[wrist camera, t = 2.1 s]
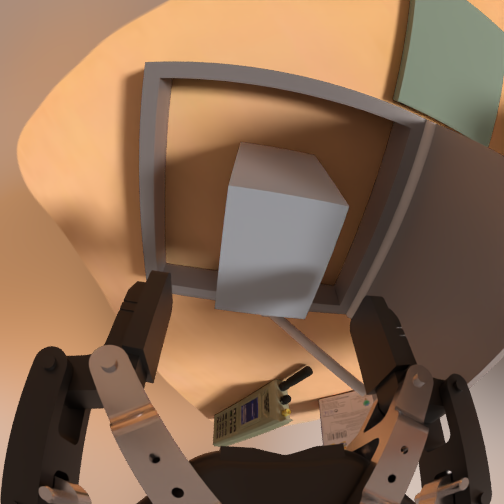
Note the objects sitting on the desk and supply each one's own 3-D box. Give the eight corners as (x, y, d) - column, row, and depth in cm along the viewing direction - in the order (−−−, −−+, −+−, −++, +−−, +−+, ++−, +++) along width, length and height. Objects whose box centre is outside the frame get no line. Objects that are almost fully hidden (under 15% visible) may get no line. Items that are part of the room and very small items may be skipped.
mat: (501, 34, 8) (506, 35, 8) (481, 146, 15) (487, 149, 14) (412, -29, 7) (417, -32, 7) (392, 99, 14) (398, 101, 14)
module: (314, 154, 17) (349, 206, 11) (291, 240, 21) (304, 319, 15) (240, 141, 17) (228, 185, 10) (228, 231, 21) (214, 308, 14)
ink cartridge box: (320, 408, 41) (327, 481, 30) (316, 398, 38) (323, 479, 27) (374, 395, 39) (388, 467, 28) (375, 383, 36) (392, 464, 25)
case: (159, 63, 14) (-44, 79, 2) (424, 120, 15) (589, 222, 3) (156, 280, 24) (106, 430, 12) (349, 304, 25) (384, 446, 14)
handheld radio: (211, 413, 44) (297, 358, 31) (227, 417, 45) (317, 363, 32) (209, 445, 38) (303, 407, 26) (226, 448, 40) (324, 409, 27)
